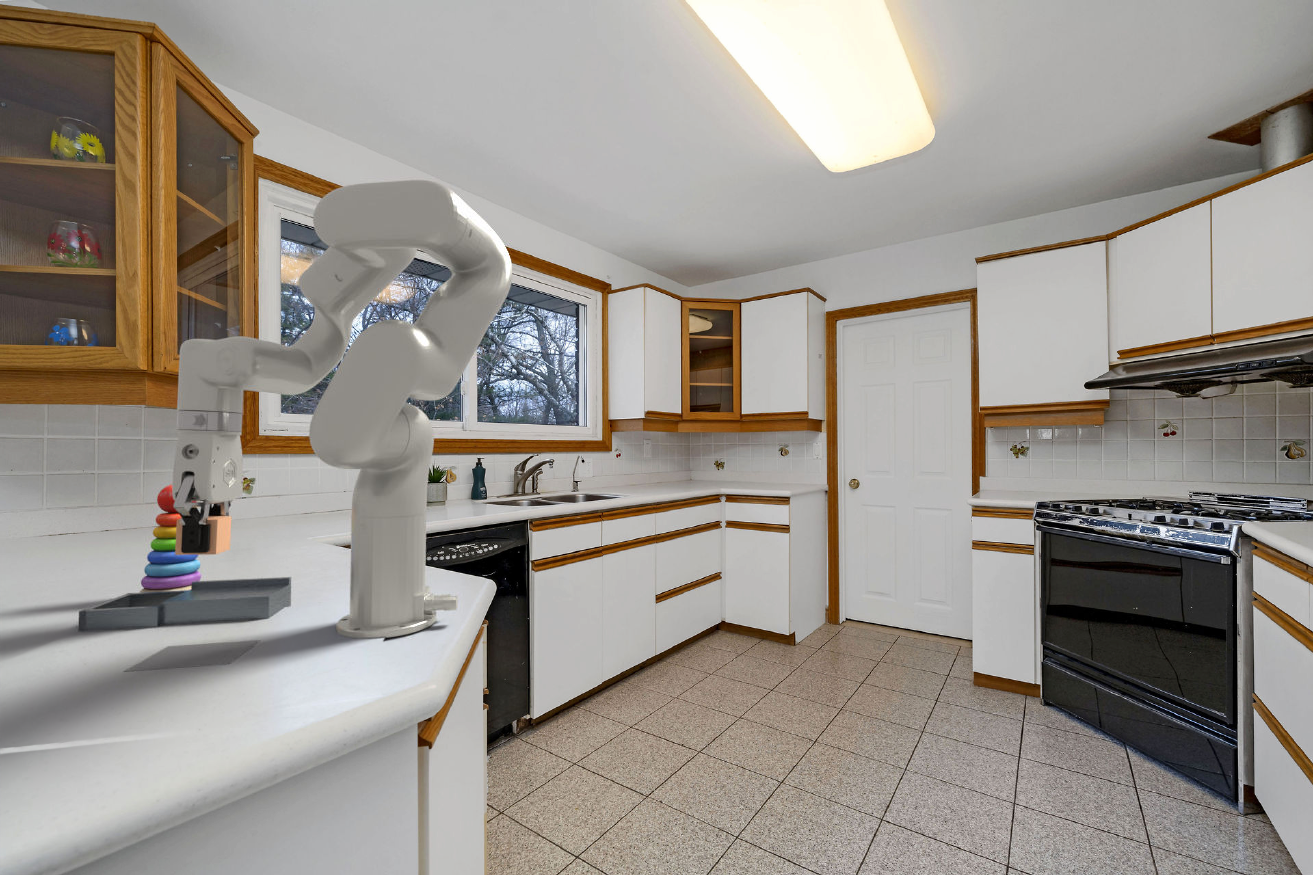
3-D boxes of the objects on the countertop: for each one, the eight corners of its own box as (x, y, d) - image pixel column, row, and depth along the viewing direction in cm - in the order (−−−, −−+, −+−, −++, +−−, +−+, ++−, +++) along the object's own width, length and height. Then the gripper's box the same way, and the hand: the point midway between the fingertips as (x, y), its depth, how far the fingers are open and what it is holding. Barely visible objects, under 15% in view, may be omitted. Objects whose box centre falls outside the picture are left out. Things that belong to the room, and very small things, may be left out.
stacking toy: (165, 605, 87) (168, 485, 88) (125, 602, 89) (128, 484, 89) (214, 592, 95) (217, 483, 95) (176, 589, 97) (179, 482, 97)
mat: (261, 642, 71) (261, 639, 71) (229, 666, 63) (229, 663, 63) (168, 649, 68) (168, 646, 68) (123, 675, 60) (123, 671, 60)
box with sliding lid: (292, 604, 88) (293, 575, 88) (266, 622, 79) (266, 590, 79) (127, 613, 83) (128, 583, 83) (78, 634, 73) (79, 600, 74)
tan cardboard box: (229, 549, 84) (231, 516, 84) (215, 554, 80) (217, 519, 80) (191, 549, 83) (192, 516, 83) (175, 554, 79) (176, 519, 79)
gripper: (209, 423, 75) (202, 560, 74) (264, 427, 91) (259, 539, 90) (142, 421, 73) (135, 561, 72) (210, 425, 89) (205, 540, 89)
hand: (204, 548), depth 81 cm, fingers closed on tan cardboard box, 4 cm apart
